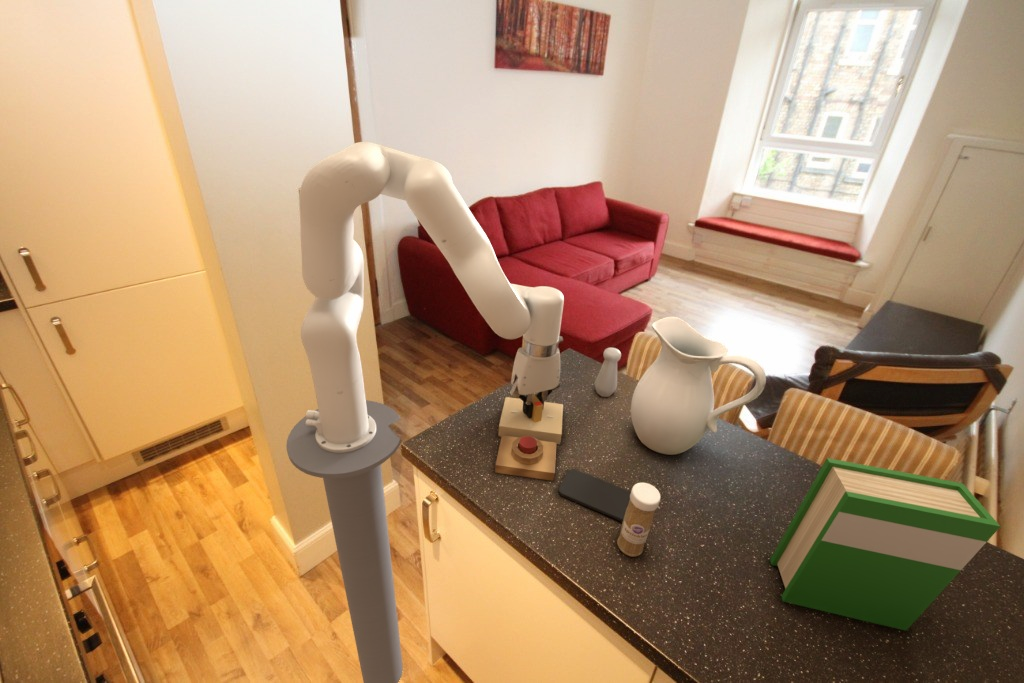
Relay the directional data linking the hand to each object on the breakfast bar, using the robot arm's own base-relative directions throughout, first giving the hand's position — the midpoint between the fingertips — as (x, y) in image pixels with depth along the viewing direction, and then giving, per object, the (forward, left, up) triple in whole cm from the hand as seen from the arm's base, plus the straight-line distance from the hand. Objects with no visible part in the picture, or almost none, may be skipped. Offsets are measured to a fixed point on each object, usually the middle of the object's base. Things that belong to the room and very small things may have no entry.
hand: (532, 413), depth 103 cm
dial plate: (0, 0, -3) cm, 3 cm away
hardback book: (+53, -32, -4) cm, 62 cm away
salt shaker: (+18, +17, -4) cm, 25 cm away
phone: (+15, -19, -4) cm, 24 cm away
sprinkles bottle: (+20, -29, -4) cm, 35 cm away
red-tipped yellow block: (0, 0, 0) cm, 0 cm away
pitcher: (+33, -1, -4) cm, 33 cm away
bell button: (0, -12, 0) cm, 12 cm away
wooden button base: (0, -12, -3) cm, 12 cm away
